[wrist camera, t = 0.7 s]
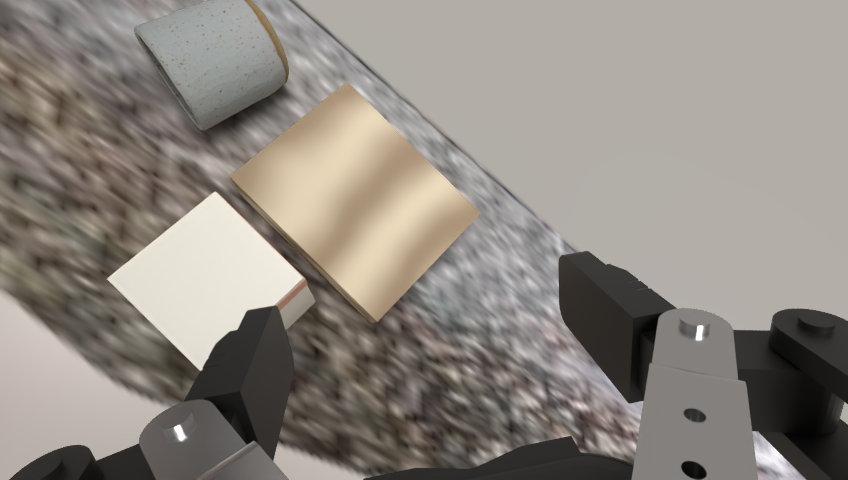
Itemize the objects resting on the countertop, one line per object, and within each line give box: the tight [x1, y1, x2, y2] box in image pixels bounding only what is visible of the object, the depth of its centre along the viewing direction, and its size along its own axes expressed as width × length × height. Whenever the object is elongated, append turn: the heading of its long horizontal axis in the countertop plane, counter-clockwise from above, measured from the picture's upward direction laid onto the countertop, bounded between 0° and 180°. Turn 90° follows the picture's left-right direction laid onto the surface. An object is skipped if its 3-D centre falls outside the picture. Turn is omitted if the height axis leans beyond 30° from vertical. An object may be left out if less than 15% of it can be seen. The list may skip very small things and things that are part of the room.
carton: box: [107, 192, 316, 371], centre depth 26 cm, size 6×6×15 cm
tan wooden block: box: [229, 82, 480, 323], centre depth 34 cm, size 14×11×5 cm
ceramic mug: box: [134, 0, 289, 130], centre depth 33 cm, size 11×8×8 cm
